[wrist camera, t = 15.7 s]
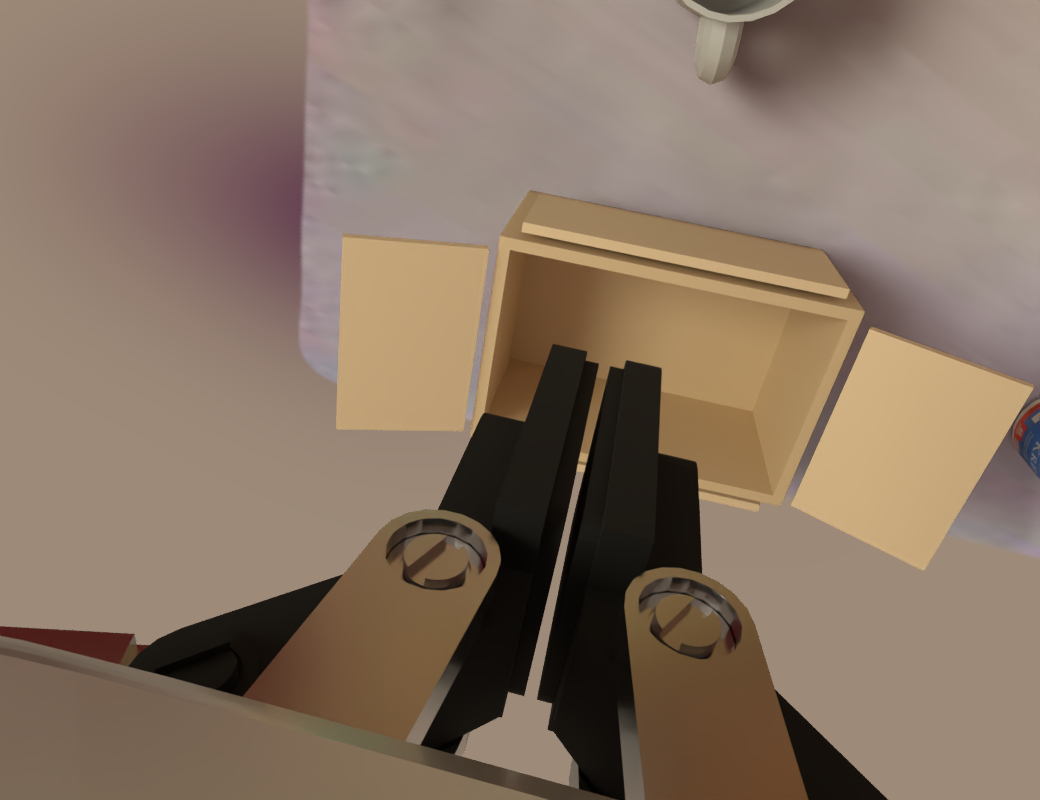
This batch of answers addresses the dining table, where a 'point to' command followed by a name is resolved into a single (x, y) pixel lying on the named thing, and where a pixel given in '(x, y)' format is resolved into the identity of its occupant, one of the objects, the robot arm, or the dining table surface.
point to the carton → (673, 333)
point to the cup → (723, 31)
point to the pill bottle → (1028, 435)
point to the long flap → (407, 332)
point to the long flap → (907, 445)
